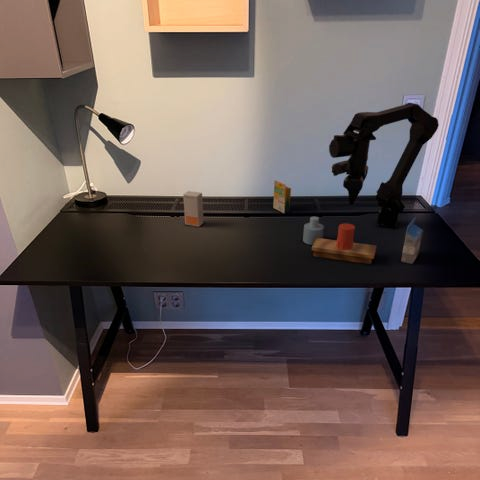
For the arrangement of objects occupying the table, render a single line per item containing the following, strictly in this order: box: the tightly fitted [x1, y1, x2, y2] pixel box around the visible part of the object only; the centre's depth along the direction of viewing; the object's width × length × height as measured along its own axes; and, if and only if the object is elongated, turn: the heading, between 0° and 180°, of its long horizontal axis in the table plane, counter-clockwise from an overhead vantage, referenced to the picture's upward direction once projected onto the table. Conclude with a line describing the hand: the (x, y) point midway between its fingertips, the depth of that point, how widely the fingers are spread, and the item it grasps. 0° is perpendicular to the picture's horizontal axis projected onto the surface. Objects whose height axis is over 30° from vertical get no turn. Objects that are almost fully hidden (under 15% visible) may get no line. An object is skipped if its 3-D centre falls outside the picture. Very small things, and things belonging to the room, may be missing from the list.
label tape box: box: [400, 216, 424, 265], centre depth 147 cm, size 9×4×12 cm, turn 148°
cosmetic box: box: [182, 190, 205, 228], centre depth 172 cm, size 6×4×12 cm
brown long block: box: [311, 238, 378, 265], centre depth 151 cm, size 20×8×4 cm, turn 71°
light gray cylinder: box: [302, 216, 325, 246], centre depth 160 cm, size 7×7×8 cm
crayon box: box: [272, 180, 292, 214], centre depth 183 cm, size 7×3×12 cm, turn 34°
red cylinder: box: [336, 222, 356, 250], centre depth 148 cm, size 5×5×7 cm
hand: (352, 199), depth 162 cm, fingers open, 9 cm apart
